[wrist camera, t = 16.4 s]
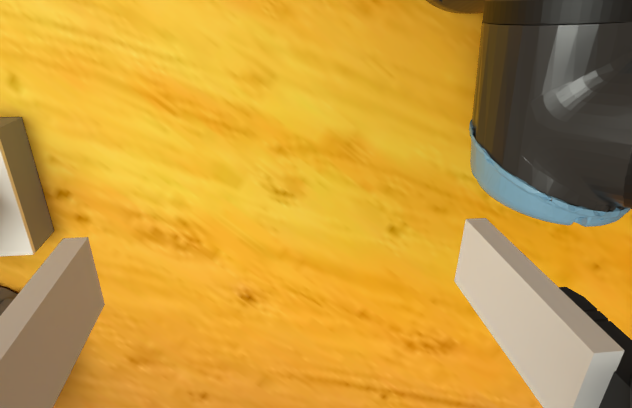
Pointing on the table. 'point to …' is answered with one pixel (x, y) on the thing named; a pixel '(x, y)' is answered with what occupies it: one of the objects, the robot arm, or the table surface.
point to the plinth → (20, 194)
